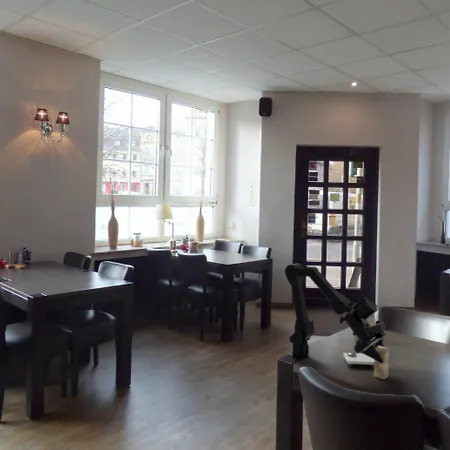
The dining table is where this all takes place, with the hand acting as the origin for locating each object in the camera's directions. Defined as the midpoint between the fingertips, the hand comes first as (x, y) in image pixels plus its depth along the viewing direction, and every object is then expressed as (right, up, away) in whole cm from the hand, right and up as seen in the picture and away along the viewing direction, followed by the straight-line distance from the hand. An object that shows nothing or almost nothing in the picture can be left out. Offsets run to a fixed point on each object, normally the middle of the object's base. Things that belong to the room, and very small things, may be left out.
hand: (385, 360), depth 172 cm
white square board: (-5, -6, +15) cm, 17 cm away
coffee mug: (+2, -5, +35) cm, 35 cm away
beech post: (-1, -7, +1) cm, 7 cm away
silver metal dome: (-8, -3, +17) cm, 19 cm away
